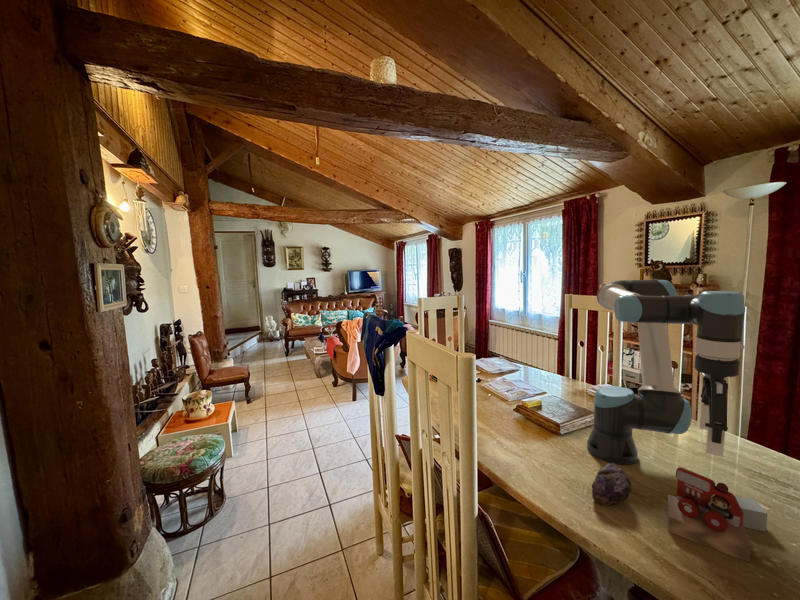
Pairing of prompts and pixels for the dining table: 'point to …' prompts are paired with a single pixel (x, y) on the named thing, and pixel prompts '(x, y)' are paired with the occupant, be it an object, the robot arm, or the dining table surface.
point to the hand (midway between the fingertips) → (710, 441)
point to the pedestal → (707, 532)
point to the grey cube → (752, 514)
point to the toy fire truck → (707, 500)
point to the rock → (611, 485)
